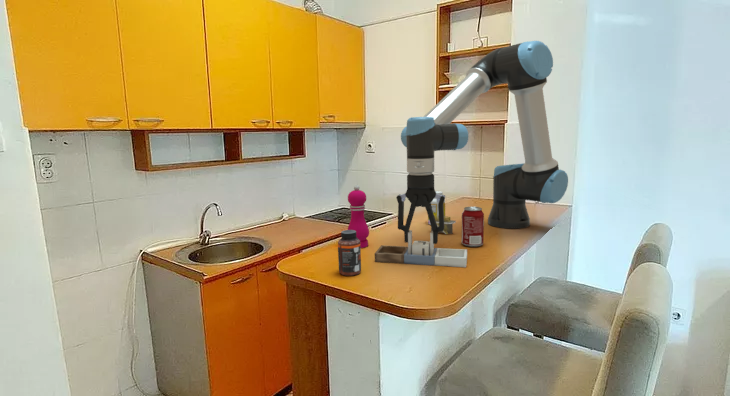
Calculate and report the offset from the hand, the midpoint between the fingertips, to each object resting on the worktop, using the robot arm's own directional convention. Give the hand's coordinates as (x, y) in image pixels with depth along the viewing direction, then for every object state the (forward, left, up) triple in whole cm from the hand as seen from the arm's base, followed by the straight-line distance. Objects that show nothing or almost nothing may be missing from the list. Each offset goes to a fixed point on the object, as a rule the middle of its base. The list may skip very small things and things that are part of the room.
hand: (421, 253), depth 116 cm
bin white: (-8, 0, -2) cm, 9 cm away
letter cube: (0, 0, -1) cm, 1 cm away
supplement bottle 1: (+17, +14, -2) cm, 22 cm away
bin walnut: (+9, 0, -2) cm, 9 cm away
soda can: (-14, -18, -2) cm, 23 cm away
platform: (-3, -31, -3) cm, 32 cm away
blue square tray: (0, 0, -2) cm, 2 cm away
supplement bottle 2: (0, -45, -2) cm, 45 cm away
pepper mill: (+22, -11, -2) cm, 25 cm away
